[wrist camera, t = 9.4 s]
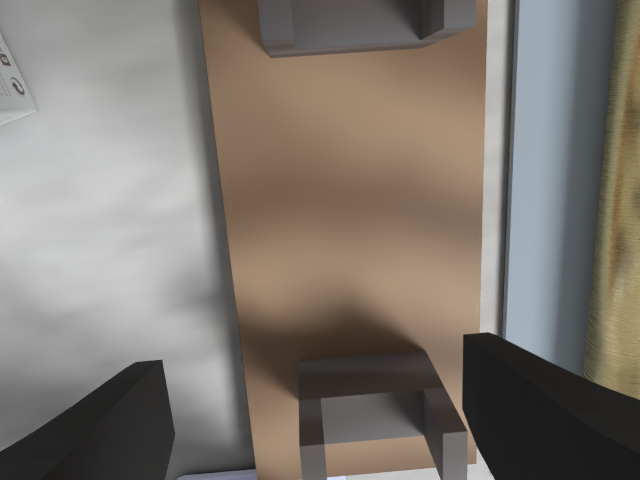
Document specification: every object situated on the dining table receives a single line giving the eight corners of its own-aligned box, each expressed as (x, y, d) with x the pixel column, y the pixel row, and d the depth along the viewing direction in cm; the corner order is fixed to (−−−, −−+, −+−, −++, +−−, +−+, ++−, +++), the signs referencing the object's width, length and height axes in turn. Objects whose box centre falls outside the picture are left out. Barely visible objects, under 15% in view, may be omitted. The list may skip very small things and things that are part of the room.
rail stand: (467, 445, 24) (529, 569, 17) (259, 464, 23) (246, 597, 17) (478, -137, 17) (583, -274, 11) (189, -121, 17) (126, -252, 11)
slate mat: (674, 460, 25) (680, 466, 24) (496, 477, 24) (500, 483, 24) (782, -223, 17) (793, -230, 16) (523, -209, 17) (528, -217, 16)
